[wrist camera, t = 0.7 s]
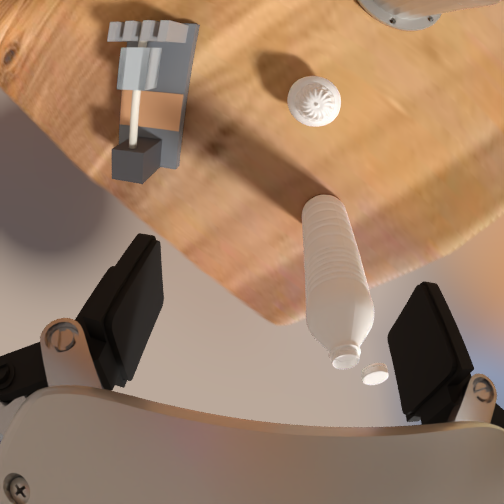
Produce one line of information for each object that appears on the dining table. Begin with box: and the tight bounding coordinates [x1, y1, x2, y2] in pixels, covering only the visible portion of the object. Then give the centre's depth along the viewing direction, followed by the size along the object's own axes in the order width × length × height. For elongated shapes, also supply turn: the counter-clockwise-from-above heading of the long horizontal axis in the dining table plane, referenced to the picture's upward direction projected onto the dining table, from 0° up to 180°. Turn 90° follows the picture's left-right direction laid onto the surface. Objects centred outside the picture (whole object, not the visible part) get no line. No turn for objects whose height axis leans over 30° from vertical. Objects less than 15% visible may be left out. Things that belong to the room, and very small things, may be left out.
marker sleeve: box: [117, 47, 162, 91], centre depth 28 cm, size 5×4×3 cm
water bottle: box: [302, 195, 389, 385], centre depth 33 cm, size 9×6×25 cm
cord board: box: [107, 20, 200, 184], centre depth 32 cm, size 20×9×8 cm, turn 169°
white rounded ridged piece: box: [287, 76, 341, 126], centre depth 31 cm, size 6×6×7 cm
